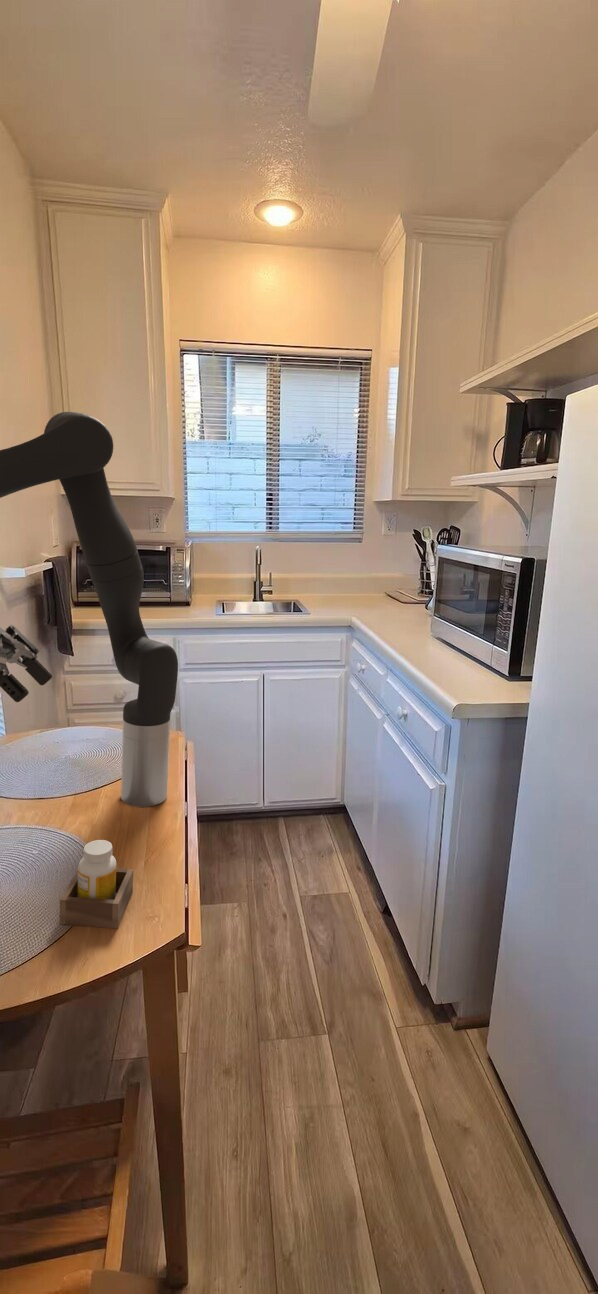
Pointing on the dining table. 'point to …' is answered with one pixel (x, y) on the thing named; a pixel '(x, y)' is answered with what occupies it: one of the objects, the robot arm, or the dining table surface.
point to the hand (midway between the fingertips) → (36, 689)
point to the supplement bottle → (97, 871)
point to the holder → (96, 904)
